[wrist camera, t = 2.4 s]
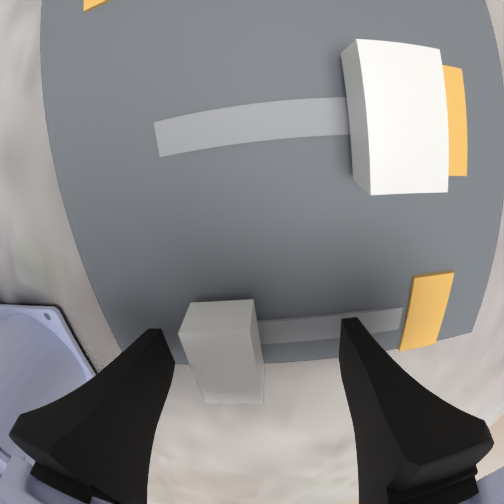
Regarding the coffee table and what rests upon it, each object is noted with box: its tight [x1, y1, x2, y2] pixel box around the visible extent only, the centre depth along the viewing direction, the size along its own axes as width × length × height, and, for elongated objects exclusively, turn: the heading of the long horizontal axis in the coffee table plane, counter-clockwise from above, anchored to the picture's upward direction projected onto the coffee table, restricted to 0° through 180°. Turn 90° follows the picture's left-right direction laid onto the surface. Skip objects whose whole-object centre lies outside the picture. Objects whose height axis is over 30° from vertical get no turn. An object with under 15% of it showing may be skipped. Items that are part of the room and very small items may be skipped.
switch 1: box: [178, 299, 265, 404], centre depth 11 cm, size 2×4×2 cm, turn 7°
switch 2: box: [340, 39, 449, 195], centre depth 7 cm, size 2×4×2 cm, turn 8°
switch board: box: [40, 0, 504, 364], centre depth 9 cm, size 18×20×1 cm
